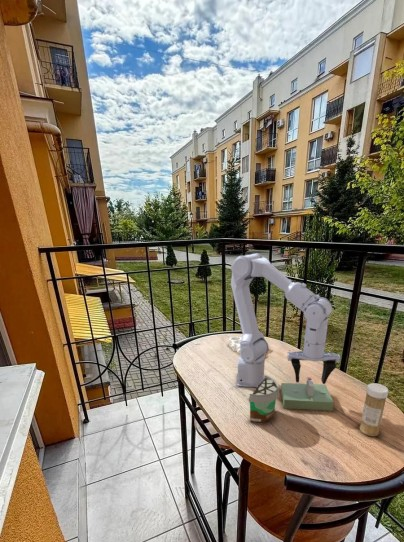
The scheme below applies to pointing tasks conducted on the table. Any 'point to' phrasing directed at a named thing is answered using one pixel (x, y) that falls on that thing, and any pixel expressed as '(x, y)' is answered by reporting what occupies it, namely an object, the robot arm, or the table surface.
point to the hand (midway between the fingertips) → (310, 381)
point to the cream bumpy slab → (235, 343)
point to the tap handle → (309, 386)
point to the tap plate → (306, 397)
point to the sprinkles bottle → (373, 409)
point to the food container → (263, 401)
